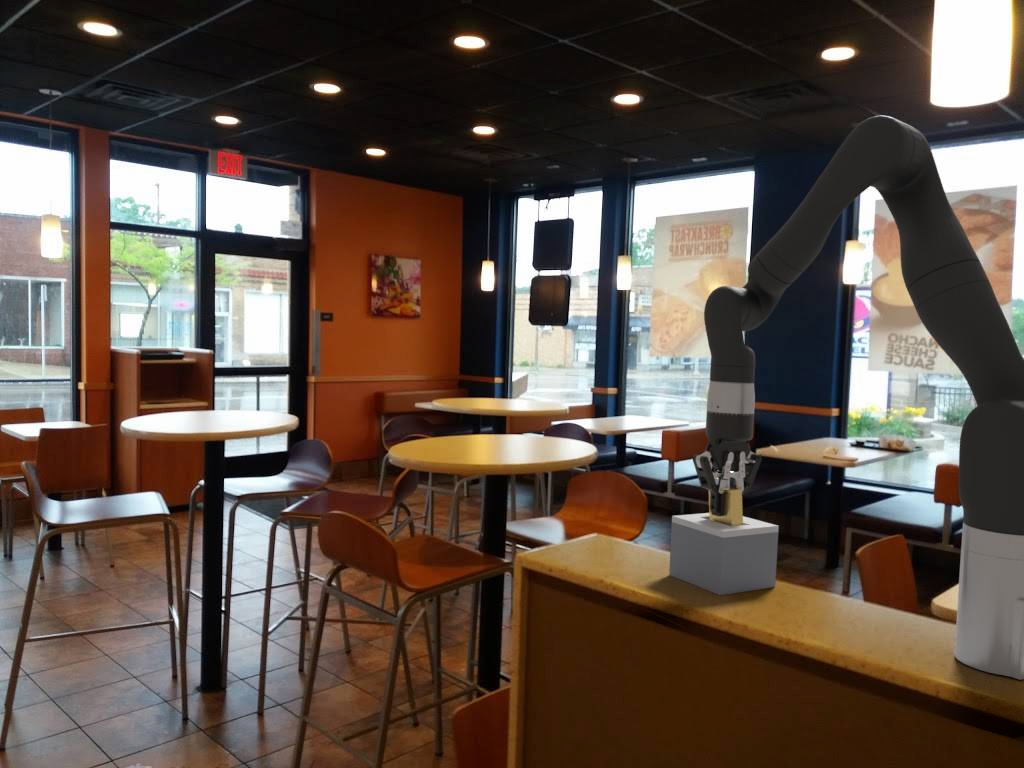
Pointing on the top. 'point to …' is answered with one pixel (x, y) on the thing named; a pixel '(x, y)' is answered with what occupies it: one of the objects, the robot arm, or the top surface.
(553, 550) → the top surface
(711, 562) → the coin box
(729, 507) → the tan rectangular block
